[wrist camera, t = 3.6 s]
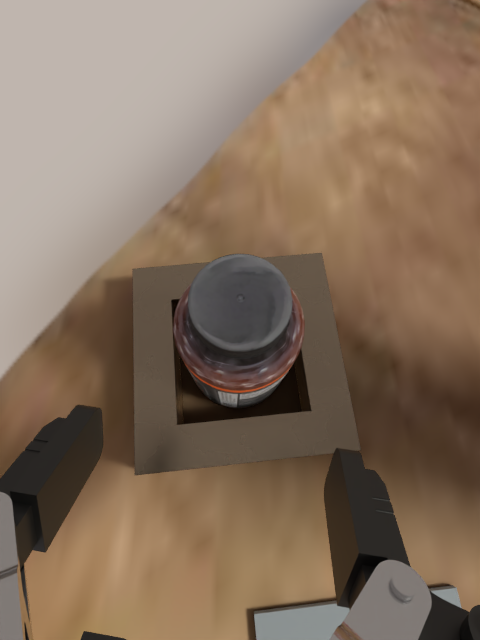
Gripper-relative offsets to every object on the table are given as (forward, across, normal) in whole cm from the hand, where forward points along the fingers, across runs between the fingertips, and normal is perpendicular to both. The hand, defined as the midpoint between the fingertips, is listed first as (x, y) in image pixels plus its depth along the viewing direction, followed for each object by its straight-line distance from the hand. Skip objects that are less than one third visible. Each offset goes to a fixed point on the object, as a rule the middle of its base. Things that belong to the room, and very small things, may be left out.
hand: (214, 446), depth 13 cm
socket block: (+11, 0, +4) cm, 12 cm away
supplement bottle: (+12, 0, +4) cm, 12 cm away
